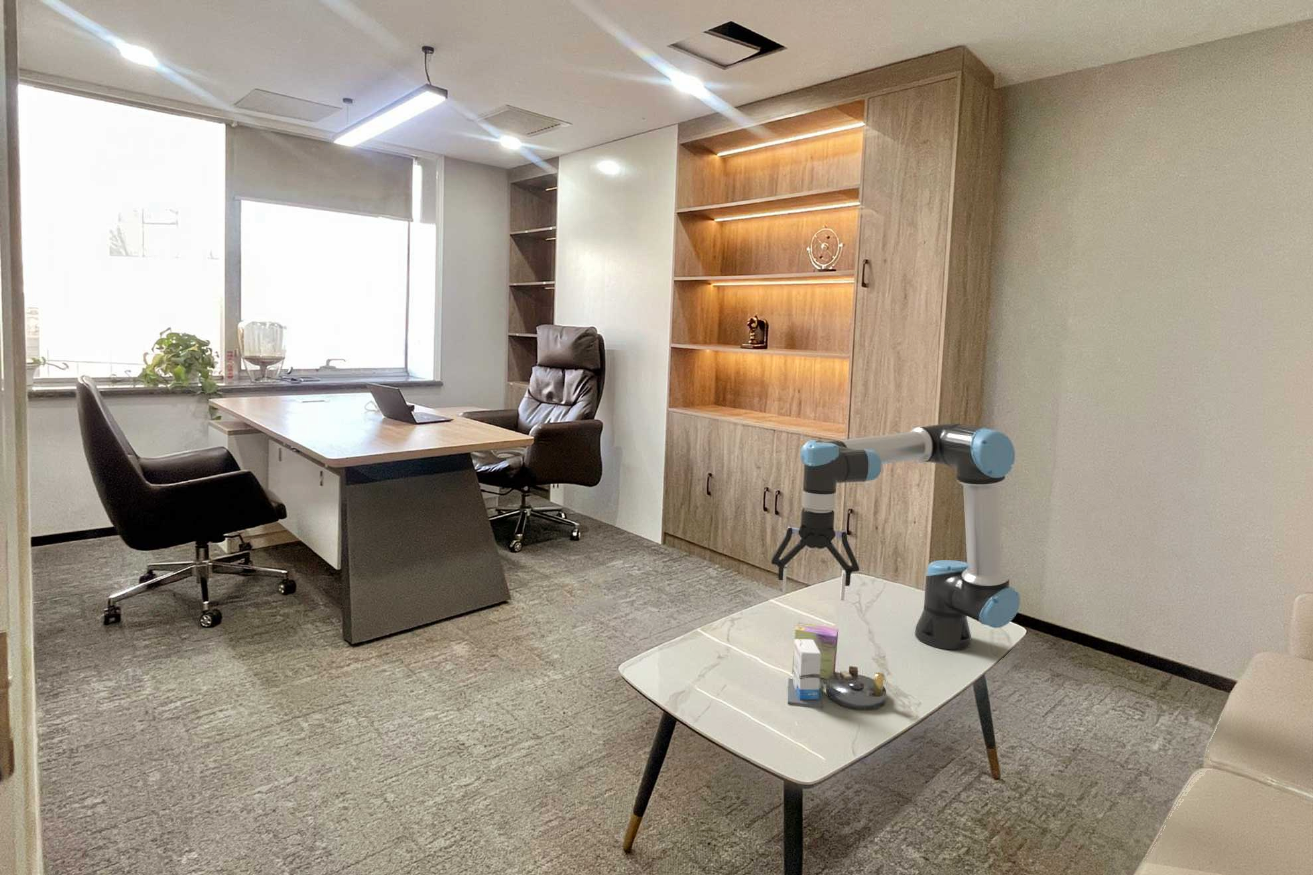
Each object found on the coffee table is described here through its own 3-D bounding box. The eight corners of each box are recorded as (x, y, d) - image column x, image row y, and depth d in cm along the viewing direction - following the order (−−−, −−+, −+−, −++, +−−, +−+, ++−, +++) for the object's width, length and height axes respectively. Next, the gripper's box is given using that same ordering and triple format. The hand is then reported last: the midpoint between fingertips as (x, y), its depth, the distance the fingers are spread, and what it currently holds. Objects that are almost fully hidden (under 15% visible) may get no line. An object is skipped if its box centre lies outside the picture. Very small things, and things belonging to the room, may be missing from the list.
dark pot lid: (894, 693, 179) (896, 666, 178) (871, 715, 168) (873, 687, 167) (841, 675, 188) (842, 649, 187) (815, 695, 177) (817, 667, 176)
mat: (821, 684, 183) (821, 682, 183) (822, 708, 172) (822, 705, 172) (788, 680, 185) (788, 678, 185) (787, 703, 173) (787, 701, 173)
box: (835, 670, 191) (838, 627, 190) (833, 680, 186) (836, 636, 184) (795, 663, 195) (798, 621, 193) (791, 673, 189) (794, 629, 188)
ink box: (819, 700, 174) (822, 653, 172) (797, 700, 174) (801, 653, 172) (811, 683, 183) (814, 638, 181) (791, 682, 182) (794, 637, 181)
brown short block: (856, 678, 188) (857, 666, 187) (857, 682, 185) (858, 671, 185) (848, 677, 188) (849, 666, 187) (849, 681, 186) (849, 670, 185)
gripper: (871, 508, 173) (865, 595, 177) (765, 501, 178) (760, 585, 181) (875, 516, 166) (868, 606, 169) (763, 508, 171) (759, 596, 174)
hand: (812, 595), depth 175 cm, fingers open, 13 cm apart
